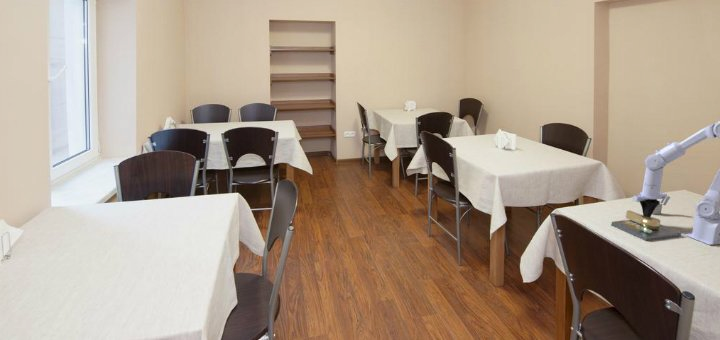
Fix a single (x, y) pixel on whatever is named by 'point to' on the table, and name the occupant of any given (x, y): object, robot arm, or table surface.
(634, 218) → the gold elongated piece
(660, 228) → the base plate
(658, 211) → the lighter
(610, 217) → the table surface
